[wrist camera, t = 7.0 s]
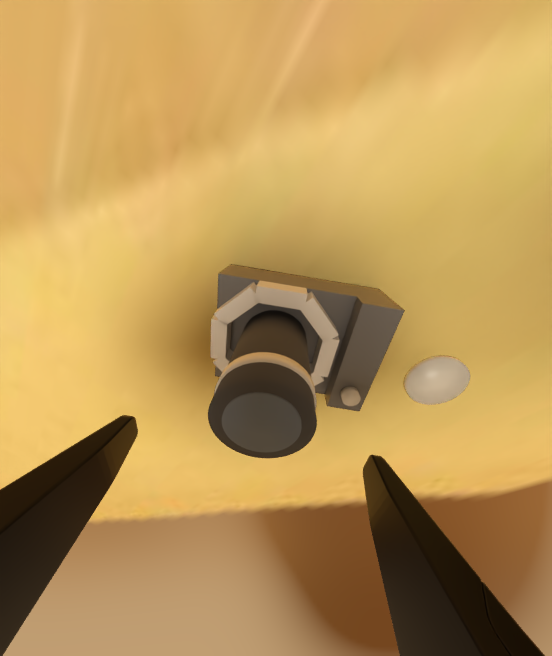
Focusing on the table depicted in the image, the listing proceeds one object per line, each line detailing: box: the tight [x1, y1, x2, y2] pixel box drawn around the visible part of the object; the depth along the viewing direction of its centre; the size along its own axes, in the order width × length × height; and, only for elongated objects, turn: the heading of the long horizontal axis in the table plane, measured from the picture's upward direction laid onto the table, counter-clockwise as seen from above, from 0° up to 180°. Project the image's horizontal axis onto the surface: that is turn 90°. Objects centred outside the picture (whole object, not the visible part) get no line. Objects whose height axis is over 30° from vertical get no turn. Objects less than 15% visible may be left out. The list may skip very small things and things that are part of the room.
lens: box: [208, 310, 317, 458], centre depth 12 cm, size 5×5×7 cm
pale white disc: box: [404, 356, 470, 405], centre depth 19 cm, size 5×5×1 cm
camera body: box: [211, 264, 405, 411], centre depth 16 cm, size 11×8×5 cm
